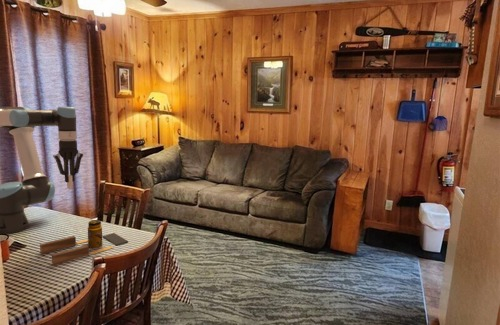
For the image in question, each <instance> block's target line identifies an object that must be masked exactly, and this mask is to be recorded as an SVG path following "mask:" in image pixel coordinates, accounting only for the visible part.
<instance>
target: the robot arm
mask: <svg viewBox="0 0 500 325" xmlns="http://www.w3.org/2000/svg"><path fill="white" fill-rule="evenodd" d="M36 127H57V130H58V134H57V135H58V153H56V154H54V155H53V156H52V157H53V159H54V160H55V163H56V165H57V168H58V172H59V174H60V175H62V176H64V182H65V183H66V187H67V189H68V190H72V189H73V187H74V186H73V185H74V183H73V182H75V175H76V174H78V173H79V171H80V166H81V162H82V158H83V157H84V153H81V152H80V151H79V150H78V141H77V138H78V136H77V134H78V133H77V113H76V109H75V107H74V106H73V107H72V106H58V107H57V108H56V109H31V108H30V107H25V106H0V130H7V129H8V133H9V134H10V135H12V136H13V139H14V143H15V147H16V151H17V154H18V157H19V162H20V165H21V169H22V173H23V177H24V178H23V179H22V181H9V182H4V183H1V184H0V234H1V235H2V234H4V235H5V234H13V233H17V232H21V231H24V230H26V229H28V228H29V227H30V222H29V221H30V220H29V219H28V217H27V215H26V214H25V207H26V206H31V205H36V204H42V203H46V202H50V201H51V200H52V199H53V198H54V197H55V193H56V192H55V191H56V187H55V186H56V185H55V183H54V181H53V180H52V179H48V176H47V175H45V174H44V173H43V169H42V165H41V162H40V157H39V155H38V150H37V146H36V142H35V138H34V135H33V132H34V131H35V128H36ZM61 158H62V161H63V163H62V161H61ZM75 158H76V159H75Z"/></svg>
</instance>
